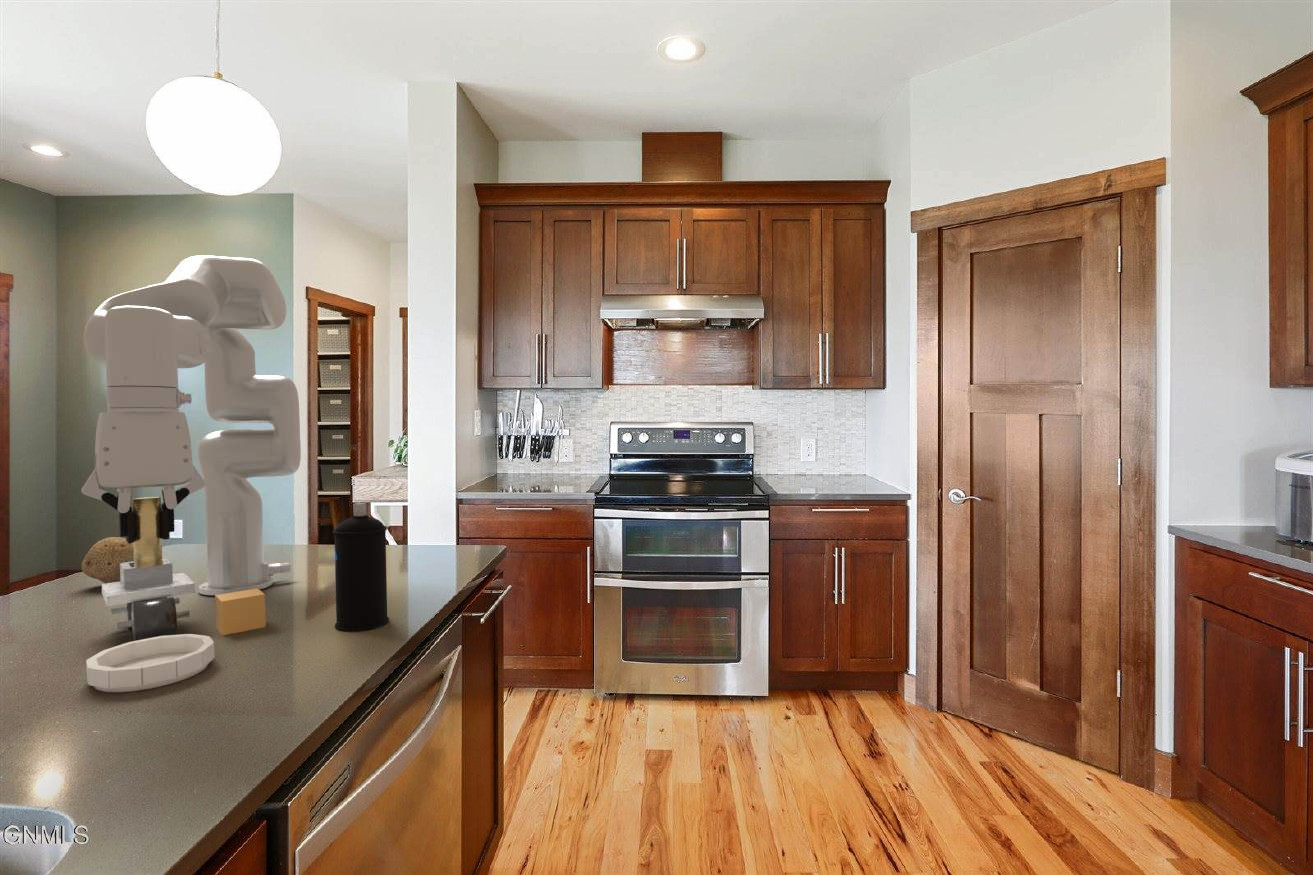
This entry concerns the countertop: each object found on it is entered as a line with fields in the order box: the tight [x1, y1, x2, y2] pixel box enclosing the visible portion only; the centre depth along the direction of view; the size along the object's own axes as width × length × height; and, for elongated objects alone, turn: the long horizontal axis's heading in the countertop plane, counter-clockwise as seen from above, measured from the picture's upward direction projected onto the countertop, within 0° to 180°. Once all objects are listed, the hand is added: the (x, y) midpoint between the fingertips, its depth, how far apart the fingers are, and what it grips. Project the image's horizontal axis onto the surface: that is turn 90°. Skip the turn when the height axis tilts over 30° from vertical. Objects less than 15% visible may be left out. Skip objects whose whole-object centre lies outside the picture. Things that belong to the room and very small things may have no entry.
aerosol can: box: [332, 502, 390, 632], centre depth 110 cm, size 8×8×20 cm
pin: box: [131, 496, 163, 568], centre depth 89 cm, size 3×3×9 cm
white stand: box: [101, 557, 196, 641], centre depth 107 cm, size 11×16×10 cm
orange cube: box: [214, 588, 267, 636], centre depth 109 cm, size 6×5×6 cm
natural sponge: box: [81, 536, 134, 584], centre depth 135 cm, size 9×9×10 cm
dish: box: [85, 633, 215, 693], centre depth 90 cm, size 13×13×3 cm
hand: (147, 538), depth 89 cm, fingers closed on pin, 3 cm apart
